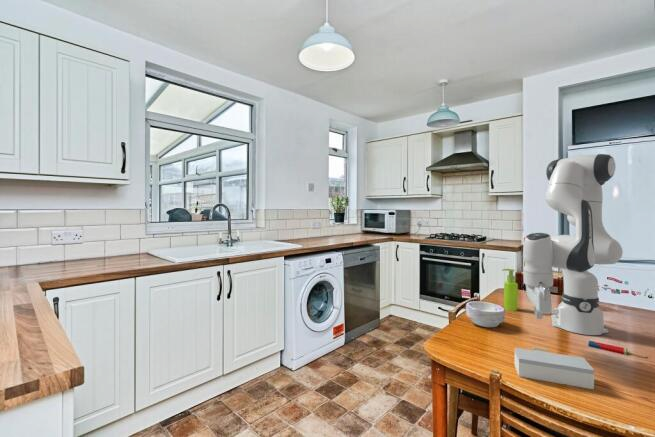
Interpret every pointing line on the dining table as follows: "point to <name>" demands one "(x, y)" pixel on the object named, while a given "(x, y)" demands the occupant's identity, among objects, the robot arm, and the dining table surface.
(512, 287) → the soap dispenser
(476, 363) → the dining table surface
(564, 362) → the end cap
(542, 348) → the slat
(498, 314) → the paper bowls
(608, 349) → the popsicle
